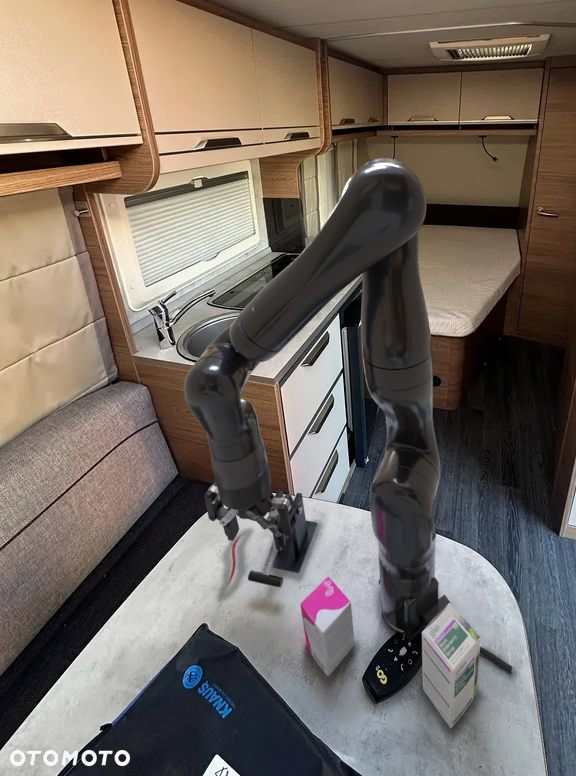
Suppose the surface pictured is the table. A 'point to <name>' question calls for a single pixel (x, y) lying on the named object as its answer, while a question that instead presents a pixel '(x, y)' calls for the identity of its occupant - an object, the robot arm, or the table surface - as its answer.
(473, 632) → the syrup box
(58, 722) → the table surface
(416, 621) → the robot arm
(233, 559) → the cayenne pepper
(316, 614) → the supplement box
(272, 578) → the lever
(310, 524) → the bracket
